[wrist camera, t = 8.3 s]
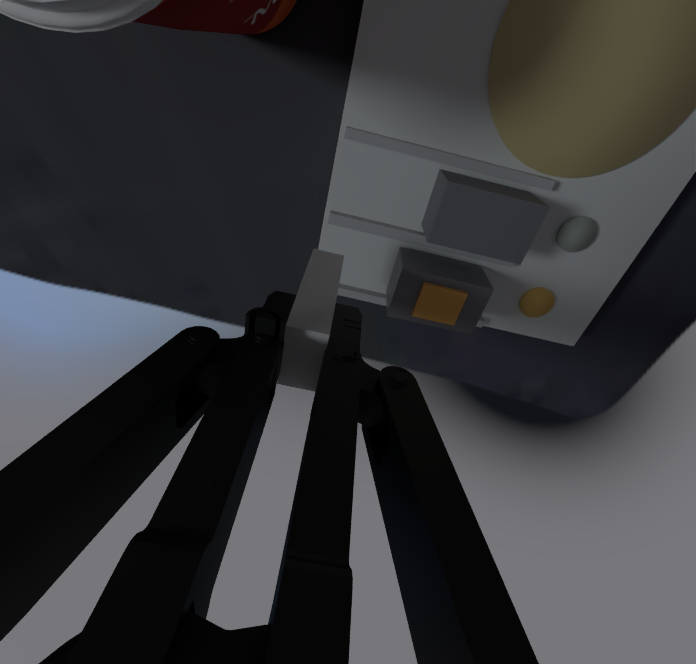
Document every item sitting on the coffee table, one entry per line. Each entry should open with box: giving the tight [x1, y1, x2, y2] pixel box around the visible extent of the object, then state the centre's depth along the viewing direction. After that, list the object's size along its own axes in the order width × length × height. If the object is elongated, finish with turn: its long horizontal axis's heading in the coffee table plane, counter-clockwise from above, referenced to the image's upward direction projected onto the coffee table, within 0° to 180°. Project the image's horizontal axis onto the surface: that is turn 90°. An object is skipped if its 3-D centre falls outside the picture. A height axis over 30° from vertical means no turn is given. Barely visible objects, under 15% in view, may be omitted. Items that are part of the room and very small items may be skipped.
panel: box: [318, 0, 696, 346], centre depth 19 cm, size 18×20×5 cm
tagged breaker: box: [386, 247, 494, 335], centre depth 21 cm, size 5×3×3 cm, turn 77°
